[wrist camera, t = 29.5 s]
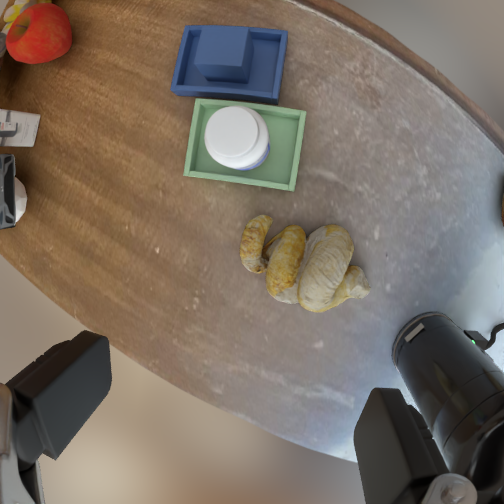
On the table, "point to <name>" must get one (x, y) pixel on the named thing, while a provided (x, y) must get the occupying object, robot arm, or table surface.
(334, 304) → the seashell
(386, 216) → the table surface
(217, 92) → the blue tray
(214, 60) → the blue block
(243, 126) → the pill bottle
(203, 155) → the green tray
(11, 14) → the decorative flower
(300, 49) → the table surface
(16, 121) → the ink box
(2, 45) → the boat shoe
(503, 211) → the onion
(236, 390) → the table surface
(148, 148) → the table surface
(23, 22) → the apple
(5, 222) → the toy car
